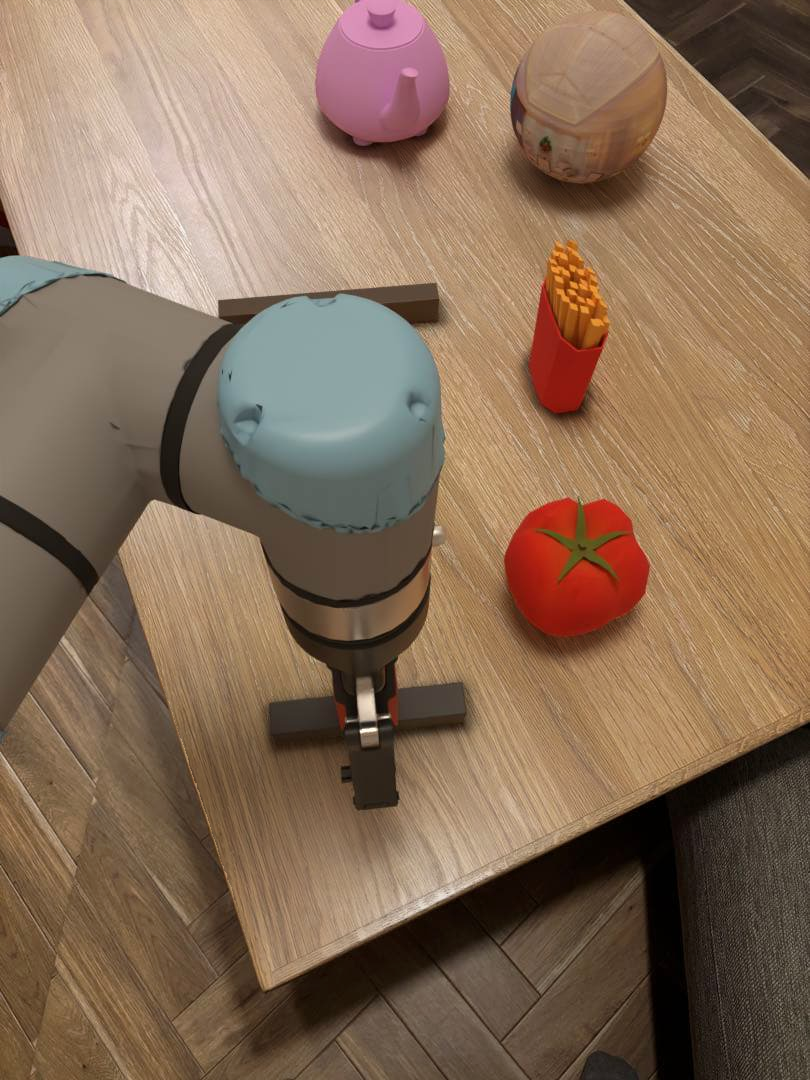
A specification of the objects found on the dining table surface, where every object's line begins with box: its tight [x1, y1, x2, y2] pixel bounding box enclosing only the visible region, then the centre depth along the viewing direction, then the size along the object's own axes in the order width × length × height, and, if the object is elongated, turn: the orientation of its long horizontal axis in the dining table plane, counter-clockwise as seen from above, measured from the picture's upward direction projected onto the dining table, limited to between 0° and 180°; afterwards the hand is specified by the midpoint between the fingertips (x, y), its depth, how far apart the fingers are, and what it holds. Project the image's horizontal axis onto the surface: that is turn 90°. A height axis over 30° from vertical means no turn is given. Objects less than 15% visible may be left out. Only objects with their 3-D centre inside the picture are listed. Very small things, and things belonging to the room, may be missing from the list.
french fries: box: [528, 238, 611, 414], centre depth 72 cm, size 9×4×13 cm, turn 11°
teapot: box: [314, 0, 451, 147], centre depth 89 cm, size 20×14×12 cm
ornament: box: [509, 10, 668, 184], centre depth 84 cm, size 15×15×15 cm
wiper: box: [268, 664, 468, 744], centre depth 59 cm, size 3×14×11 cm, turn 96°
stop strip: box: [217, 282, 440, 325], centre depth 80 cm, size 2×20×3 cm, turn 97°
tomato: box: [503, 496, 651, 638], centre depth 65 cm, size 11×11×9 cm
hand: (367, 704), depth 61 cm, fingers open, 10 cm apart
